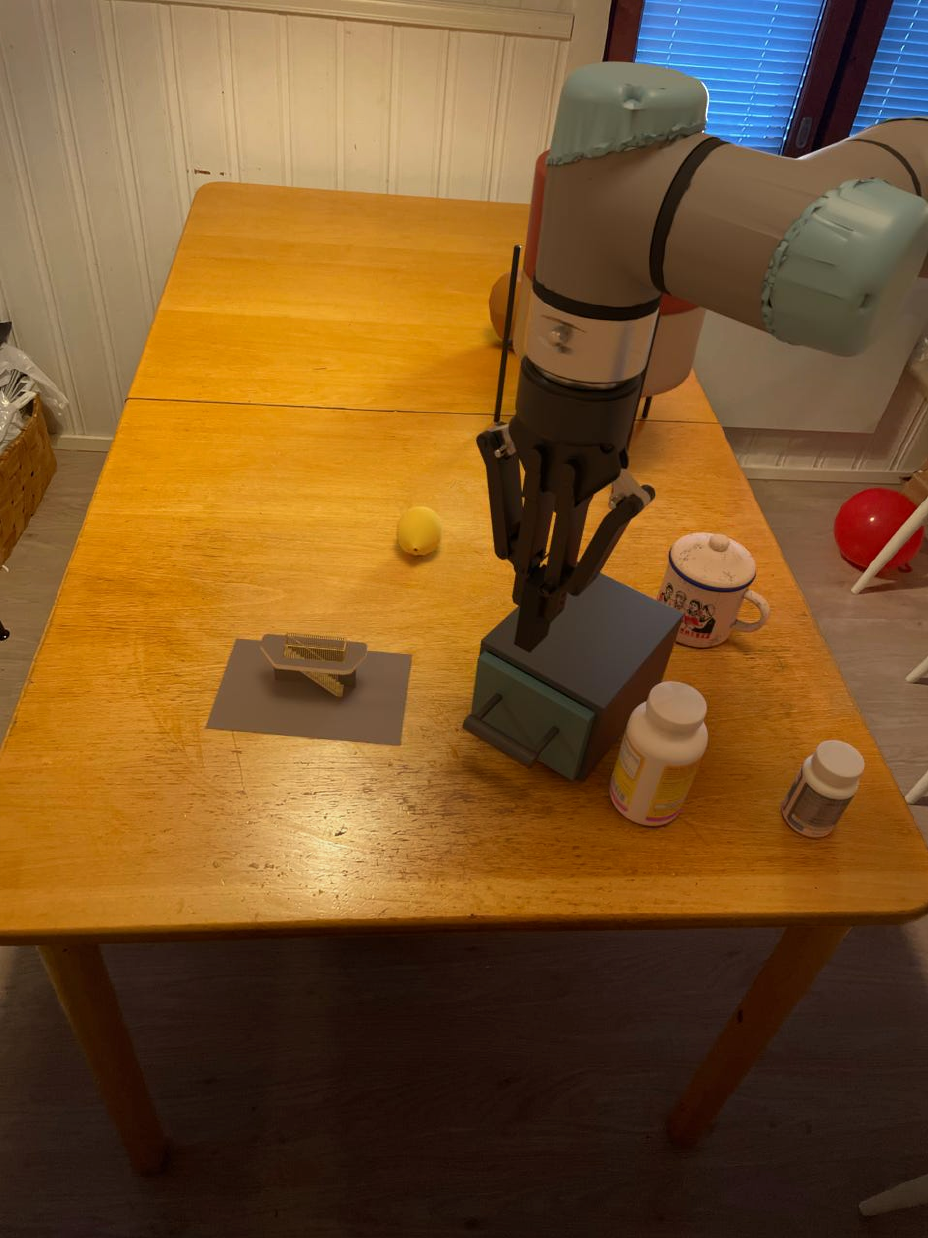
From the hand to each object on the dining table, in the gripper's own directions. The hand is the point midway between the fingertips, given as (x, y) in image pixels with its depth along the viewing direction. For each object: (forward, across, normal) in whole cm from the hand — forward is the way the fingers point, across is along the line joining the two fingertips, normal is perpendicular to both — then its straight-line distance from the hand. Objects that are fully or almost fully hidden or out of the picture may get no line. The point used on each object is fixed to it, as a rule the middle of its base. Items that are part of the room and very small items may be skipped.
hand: (531, 639), depth 70 cm
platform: (+17, -20, -4) cm, 26 cm away
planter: (+17, -23, +54) cm, 61 cm away
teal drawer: (+15, 0, +6) cm, 17 cm away
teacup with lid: (+16, +6, +30) cm, 34 cm away
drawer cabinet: (+16, 0, +11) cm, 19 cm away
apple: (+17, -47, +75) cm, 90 cm away
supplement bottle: (+16, +12, +5) cm, 21 cm away
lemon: (+17, -26, +20) cm, 36 cm away
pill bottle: (+16, +24, +13) cm, 32 cm away
